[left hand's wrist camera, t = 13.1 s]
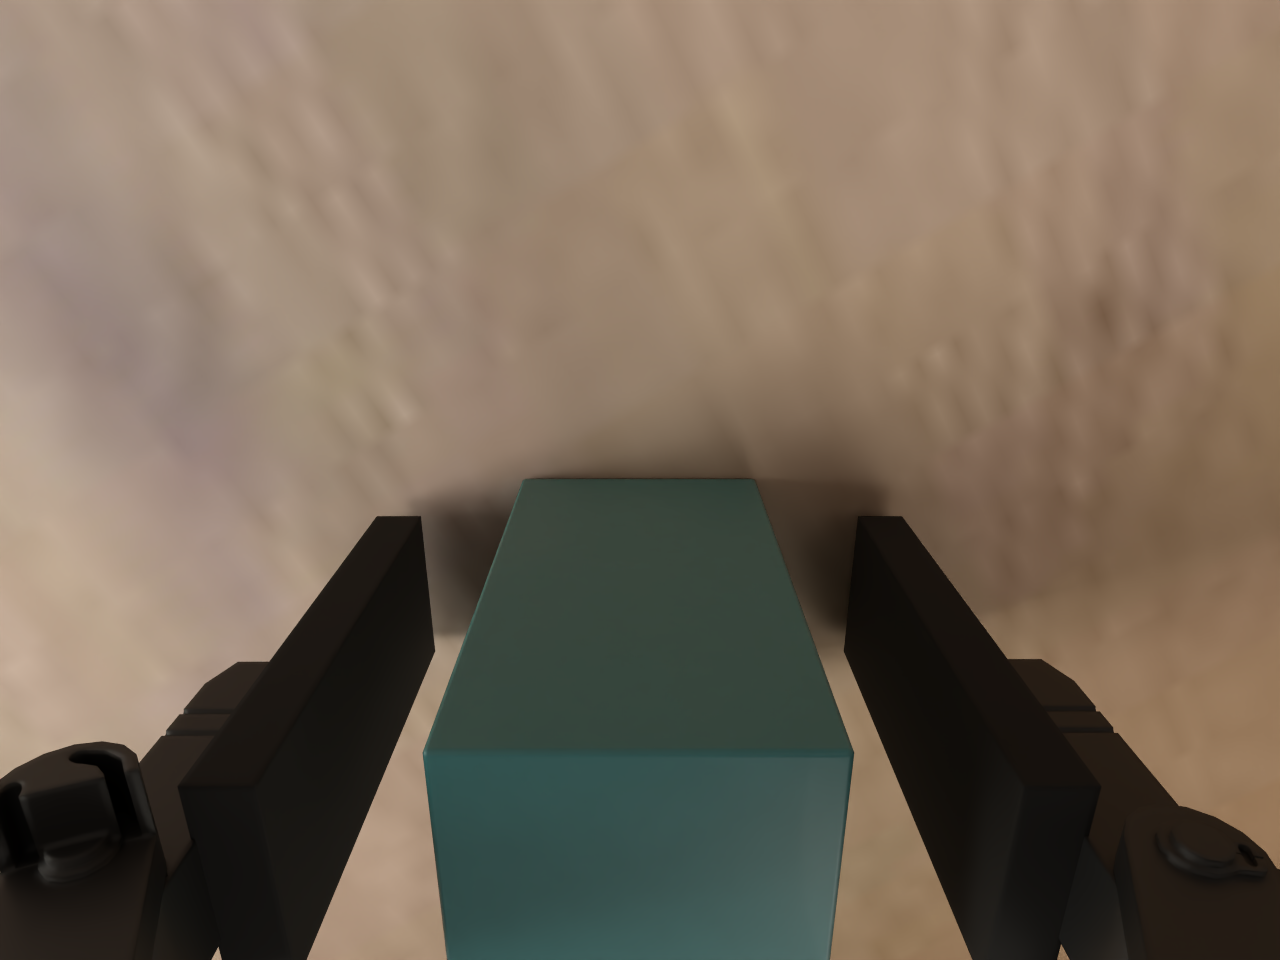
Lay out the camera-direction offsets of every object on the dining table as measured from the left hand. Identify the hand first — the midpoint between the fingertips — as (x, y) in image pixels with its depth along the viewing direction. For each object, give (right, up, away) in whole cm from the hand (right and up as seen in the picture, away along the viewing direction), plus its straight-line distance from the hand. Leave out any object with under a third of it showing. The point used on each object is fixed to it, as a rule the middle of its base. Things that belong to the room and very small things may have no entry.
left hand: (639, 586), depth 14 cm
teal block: (0, 0, 0) cm, 0 cm away
